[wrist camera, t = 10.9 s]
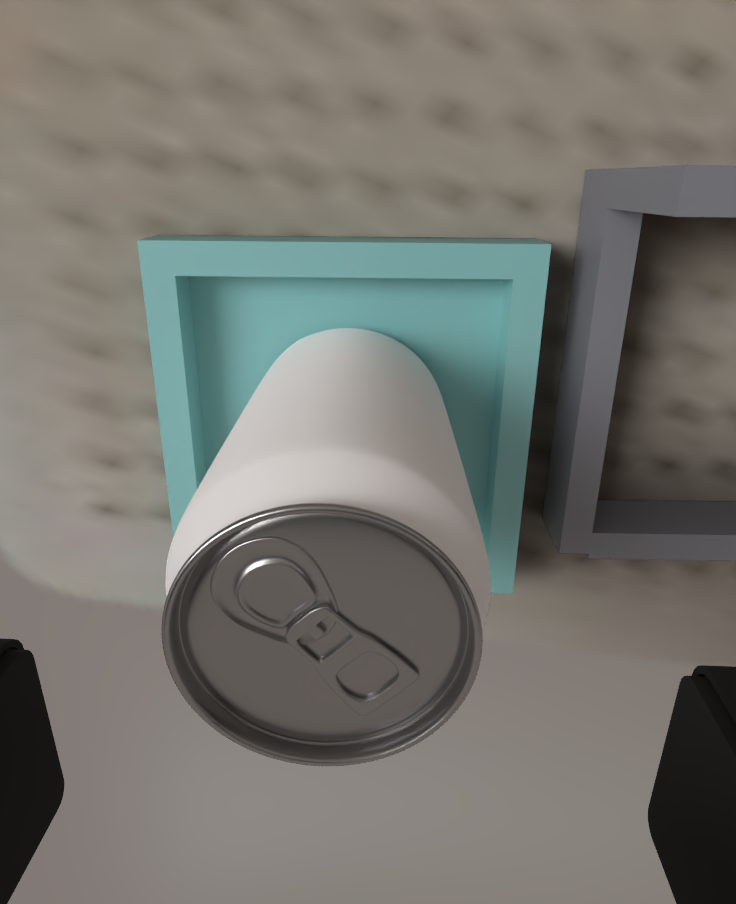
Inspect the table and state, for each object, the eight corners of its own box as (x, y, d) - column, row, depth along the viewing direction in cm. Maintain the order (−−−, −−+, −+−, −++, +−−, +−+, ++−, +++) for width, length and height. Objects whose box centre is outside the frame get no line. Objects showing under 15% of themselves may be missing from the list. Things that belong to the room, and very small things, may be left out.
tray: (536, 238, 21) (551, 244, 19) (502, 563, 25) (512, 593, 23) (158, 234, 21) (137, 240, 19) (194, 558, 25) (179, 588, 24)
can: (353, 282, 21) (324, 399, 10) (482, 423, 22) (584, 659, 11) (216, 412, 22) (59, 639, 11) (346, 534, 24) (319, 832, 13)
